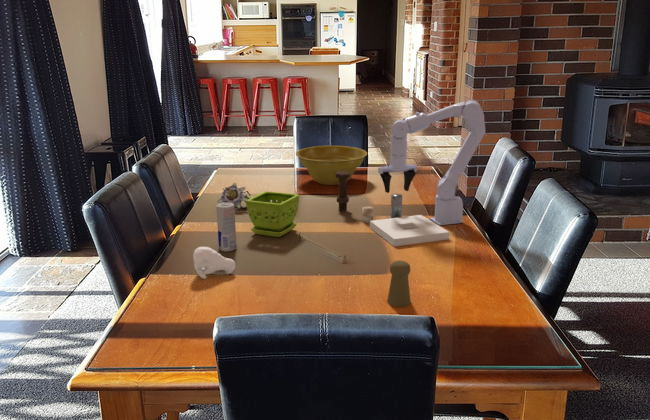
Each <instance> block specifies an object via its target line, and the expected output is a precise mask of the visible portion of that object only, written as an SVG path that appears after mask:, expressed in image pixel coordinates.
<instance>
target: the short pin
mask: <svg viewBox="0 0 650 420" xmlns="http://www.w3.org/2000/svg"><path fill="white" fill-rule="evenodd" d="M373 220H374V207H372V206H367V205H366V206H363V207H362V209H361V223H365V224H370V221H373Z"/></svg>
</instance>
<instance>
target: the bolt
mask: <svg viewBox="0 0 650 420" xmlns="http://www.w3.org/2000/svg"><path fill="white" fill-rule="evenodd" d="M349 177H350V173H349V172H346V171H339V172H336V178H338V181H339V184H338V196H337V197H336V202H337V203H338V211H339V212H346V211H347V210H348V205H347V204H348V203H349V201H350V197H349V196H348V181H347V178H349Z"/></svg>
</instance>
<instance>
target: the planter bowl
mask: <svg viewBox="0 0 650 420" xmlns="http://www.w3.org/2000/svg"><path fill="white" fill-rule="evenodd" d="M295 155H296V156H297V157H298V160H299V162H300V164H301V165H302V166H303V167H304V168H306V170H307V172H308V173H309V175H310V176H311V179H312V180H313V181H315V182H316V183H318V184H321V185H329V186H330V185H331V186H332V185H333V186H334V185H335V186H336V185H339V181H338V178H336V172H339V171H346V172H349V173H350V177H349V178H347V182H348V181H349V180H351V178H352V176H353V175H354V173H355V172H356V169H358V167H359V166H362V163H363V162H364V159H365V157H367V156H368V152H367V151H366V150H365V149H362V148H360V147H359V148H358V147H355V146H345V145H317V146H310V147H305V148H301V149H299V150H297V151H296V152H295Z"/></svg>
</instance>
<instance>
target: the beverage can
mask: <svg viewBox="0 0 650 420" xmlns="http://www.w3.org/2000/svg"><path fill="white" fill-rule="evenodd" d="M235 209H236V208H235V206H234V204H233V203H228V202H226V203H224V202H222V203H218V204H216V225H217V239H218V240H217V241H218V250H220V251H222V252H226V253H227V252H233V251H234V250H236V249H237V232H236V230H237V229H236V214H235V211H236V210H235Z"/></svg>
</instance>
